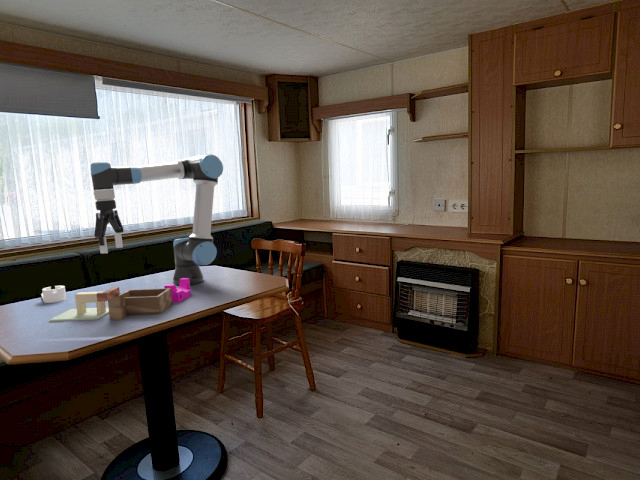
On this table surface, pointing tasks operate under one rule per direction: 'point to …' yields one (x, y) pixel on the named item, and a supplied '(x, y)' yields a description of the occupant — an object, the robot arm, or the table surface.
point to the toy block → (180, 290)
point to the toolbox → (139, 302)
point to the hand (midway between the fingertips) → (112, 250)
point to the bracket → (53, 294)
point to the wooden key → (108, 294)
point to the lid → (84, 309)
